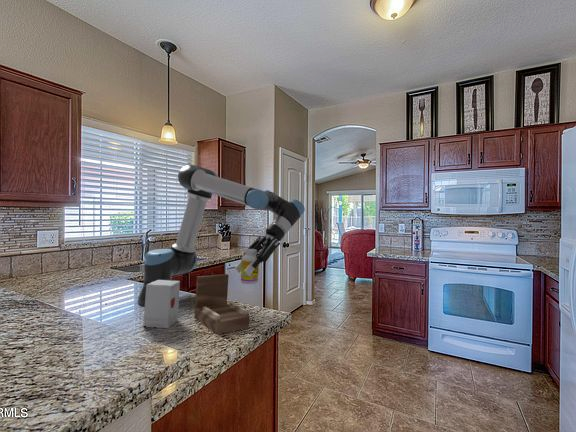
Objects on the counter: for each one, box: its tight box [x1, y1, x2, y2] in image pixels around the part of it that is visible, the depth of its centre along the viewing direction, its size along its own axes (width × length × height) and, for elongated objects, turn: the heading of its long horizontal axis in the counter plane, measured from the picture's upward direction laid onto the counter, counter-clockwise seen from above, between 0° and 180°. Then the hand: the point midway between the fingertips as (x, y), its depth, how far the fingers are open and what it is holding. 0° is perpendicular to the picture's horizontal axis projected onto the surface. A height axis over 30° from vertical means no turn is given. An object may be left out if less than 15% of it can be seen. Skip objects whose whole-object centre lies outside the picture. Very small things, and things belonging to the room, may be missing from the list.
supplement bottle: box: [240, 248, 260, 285], centre depth 112 cm, size 7×7×13 cm
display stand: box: [193, 273, 251, 335], centre depth 110 cm, size 20×13×16 cm, turn 39°
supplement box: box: [142, 280, 181, 329], centre depth 105 cm, size 9×9×15 cm
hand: (241, 271), depth 110 cm, fingers closed on supplement bottle, 7 cm apart
